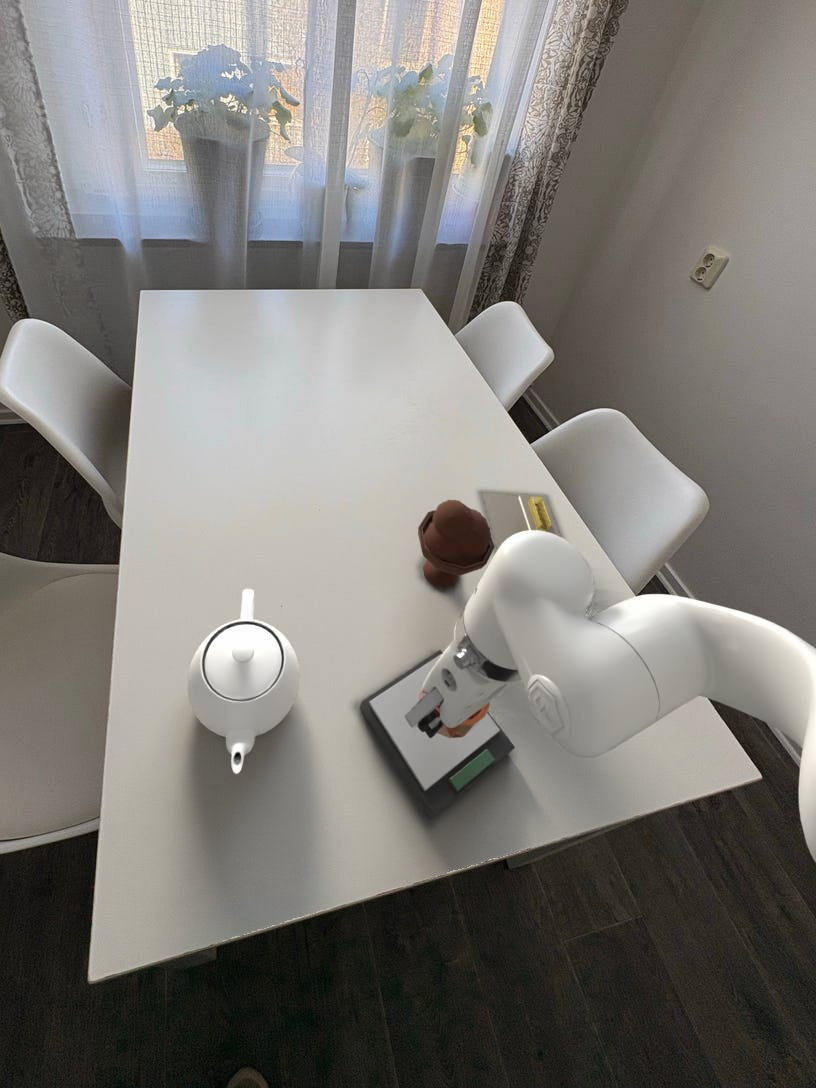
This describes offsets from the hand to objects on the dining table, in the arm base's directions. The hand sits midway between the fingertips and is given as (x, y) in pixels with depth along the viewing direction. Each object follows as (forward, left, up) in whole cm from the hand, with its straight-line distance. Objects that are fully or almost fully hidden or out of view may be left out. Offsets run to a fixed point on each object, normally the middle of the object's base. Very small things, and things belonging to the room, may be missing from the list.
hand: (449, 705), depth 61 cm
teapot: (+16, +18, -8) cm, 26 cm away
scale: (0, 0, -8) cm, 8 cm away
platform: (+15, -34, -8) cm, 38 cm away
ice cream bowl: (+17, -16, -8) cm, 25 cm away
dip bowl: (0, 0, -1) cm, 1 cm away
